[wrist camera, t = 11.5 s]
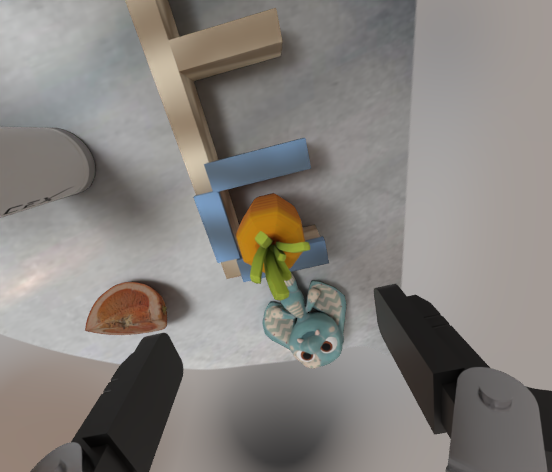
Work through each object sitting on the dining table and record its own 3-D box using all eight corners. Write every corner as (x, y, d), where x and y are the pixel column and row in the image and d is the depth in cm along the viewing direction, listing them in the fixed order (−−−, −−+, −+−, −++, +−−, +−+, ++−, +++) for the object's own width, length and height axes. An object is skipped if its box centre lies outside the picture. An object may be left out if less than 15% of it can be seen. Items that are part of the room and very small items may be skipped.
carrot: (250, 175, 26) (230, 226, 12) (298, 183, 27) (330, 241, 13) (243, 221, 28) (219, 309, 14) (288, 228, 29) (307, 321, 15)
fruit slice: (170, 271, 30) (152, 296, 26) (185, 317, 33) (171, 347, 28) (101, 280, 31) (70, 306, 26) (121, 325, 33) (96, 356, 29)
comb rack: (114, -77, 19) (65, -142, 15) (248, -122, 19) (239, -206, 14) (232, 262, 30) (224, 286, 25) (320, 242, 29) (329, 263, 25)
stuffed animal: (324, 267, 25) (381, 366, 26) (318, 247, 32) (364, 327, 33) (230, 316, 26) (289, 405, 28) (244, 287, 33) (290, 360, 35)
